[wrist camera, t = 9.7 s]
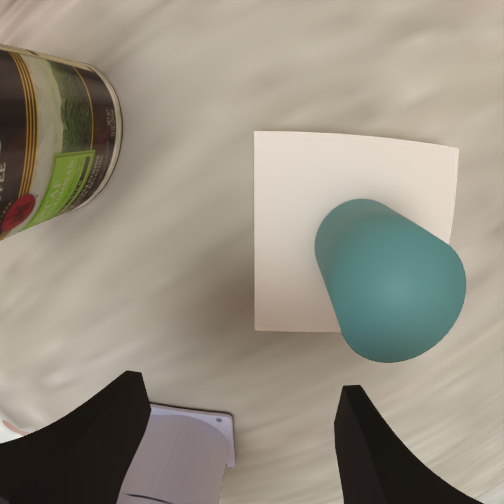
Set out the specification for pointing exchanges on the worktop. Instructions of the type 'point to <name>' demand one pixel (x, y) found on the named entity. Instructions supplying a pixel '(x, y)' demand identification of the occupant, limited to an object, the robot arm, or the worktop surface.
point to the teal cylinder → (388, 280)
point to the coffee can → (52, 136)
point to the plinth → (324, 201)
